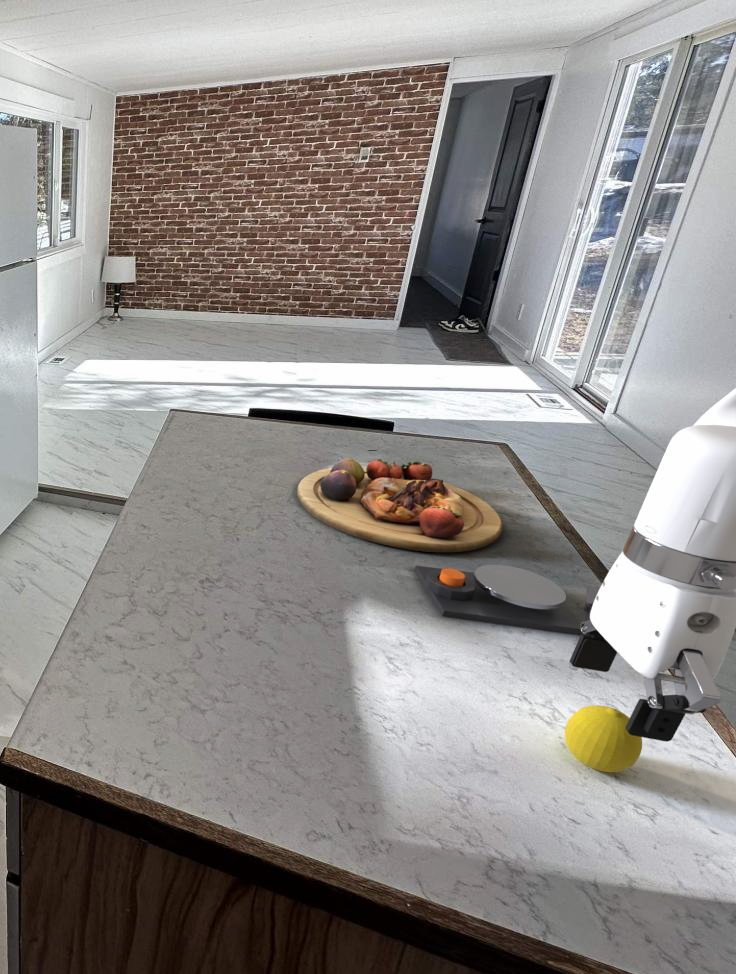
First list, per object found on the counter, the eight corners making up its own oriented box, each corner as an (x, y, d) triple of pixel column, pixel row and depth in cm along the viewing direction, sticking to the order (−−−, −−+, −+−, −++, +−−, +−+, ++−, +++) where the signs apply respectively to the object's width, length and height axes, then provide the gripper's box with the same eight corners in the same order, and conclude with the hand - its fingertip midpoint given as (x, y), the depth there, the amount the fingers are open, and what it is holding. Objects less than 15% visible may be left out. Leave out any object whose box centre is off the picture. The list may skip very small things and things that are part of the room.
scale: (536, 590, 97) (543, 571, 96) (580, 641, 87) (589, 619, 85) (410, 575, 102) (415, 556, 101) (437, 620, 92) (443, 600, 91)
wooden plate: (536, 568, 102) (553, 523, 99) (312, 543, 112) (321, 501, 109) (458, 483, 130) (468, 446, 127) (284, 469, 140) (290, 434, 137)
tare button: (458, 578, 96) (461, 569, 95) (465, 589, 93) (468, 580, 93) (436, 575, 97) (438, 567, 96) (443, 586, 94) (445, 577, 94)
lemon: (632, 771, 68) (660, 714, 65) (617, 798, 65) (646, 740, 62) (563, 737, 72) (587, 682, 70) (547, 762, 70) (571, 706, 67)
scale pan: (542, 574, 95) (544, 569, 95) (580, 614, 86) (582, 609, 86) (462, 565, 98) (463, 560, 98) (490, 603, 90) (492, 598, 89)
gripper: (823, 621, 50) (728, 778, 57) (671, 518, 66) (610, 652, 72) (698, 604, 53) (621, 757, 59) (580, 509, 68) (528, 639, 74)
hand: (615, 699), depth 65 cm, fingers open, 9 cm apart
